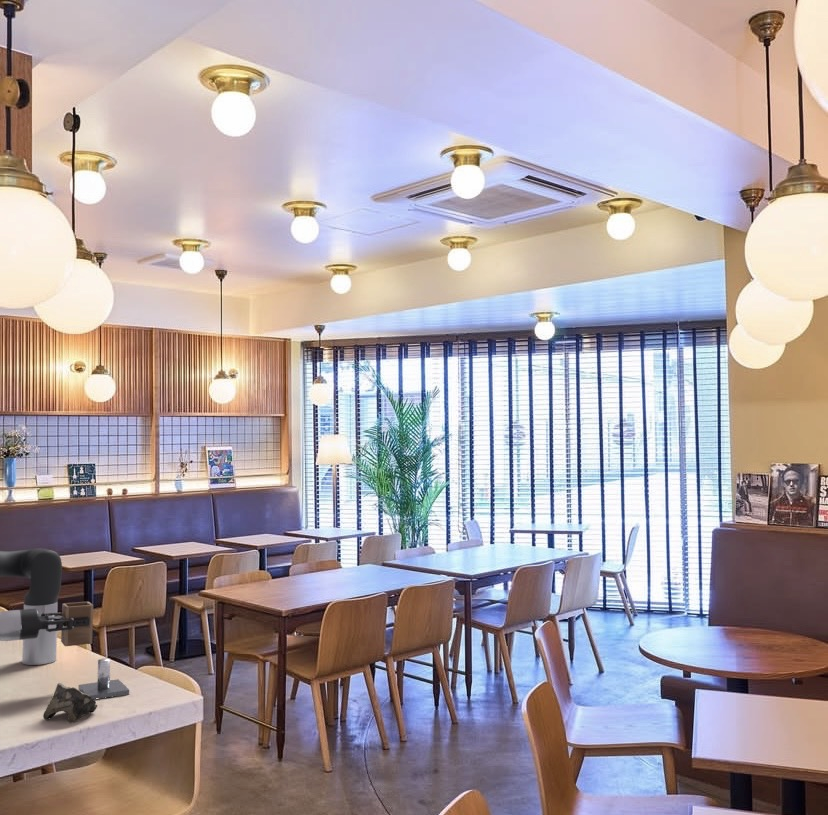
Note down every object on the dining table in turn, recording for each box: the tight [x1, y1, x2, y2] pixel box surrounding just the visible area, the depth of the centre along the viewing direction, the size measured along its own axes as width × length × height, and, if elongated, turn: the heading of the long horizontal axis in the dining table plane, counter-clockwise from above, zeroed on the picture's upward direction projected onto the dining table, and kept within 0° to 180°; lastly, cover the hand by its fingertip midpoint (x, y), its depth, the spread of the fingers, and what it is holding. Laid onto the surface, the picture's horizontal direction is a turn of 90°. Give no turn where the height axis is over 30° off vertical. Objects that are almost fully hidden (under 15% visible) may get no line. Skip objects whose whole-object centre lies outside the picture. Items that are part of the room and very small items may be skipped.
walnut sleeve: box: [60, 601, 94, 647], centre depth 217 cm, size 7×7×10 cm
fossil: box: [42, 682, 98, 724], centre depth 191 cm, size 11×9×10 cm
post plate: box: [78, 657, 130, 699], centre depth 212 cm, size 12×10×8 cm
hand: (86, 618), depth 218 cm, fingers closed on walnut sleeve, 6 cm apart
